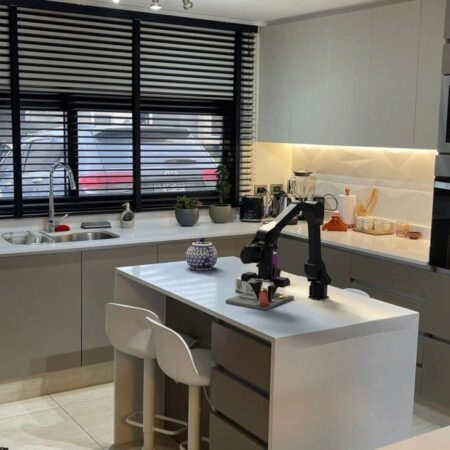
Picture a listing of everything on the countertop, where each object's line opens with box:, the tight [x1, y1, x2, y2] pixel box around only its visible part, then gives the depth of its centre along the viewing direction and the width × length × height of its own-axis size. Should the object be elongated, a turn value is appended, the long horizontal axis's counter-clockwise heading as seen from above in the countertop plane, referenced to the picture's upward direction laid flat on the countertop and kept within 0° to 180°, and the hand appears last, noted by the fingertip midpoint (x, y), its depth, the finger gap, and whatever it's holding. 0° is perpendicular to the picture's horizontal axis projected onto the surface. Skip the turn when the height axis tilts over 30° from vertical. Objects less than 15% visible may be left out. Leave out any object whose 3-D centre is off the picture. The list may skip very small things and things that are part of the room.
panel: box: [225, 290, 295, 311], centre depth 277 cm, size 18×22×2 cm
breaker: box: [261, 284, 278, 294], centre depth 281 cm, size 5×4×4 cm
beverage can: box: [273, 251, 279, 279], centre depth 316 cm, size 8×8×12 cm
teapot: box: [185, 237, 218, 271], centre depth 336 cm, size 25×15×15 cm, turn 20°
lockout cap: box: [259, 289, 270, 306], centre depth 267 cm, size 4×4×6 cm
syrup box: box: [234, 272, 264, 294], centre depth 296 cm, size 6×6×14 cm
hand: (264, 301), depth 267 cm, fingers closed on lockout cap, 4 cm apart
